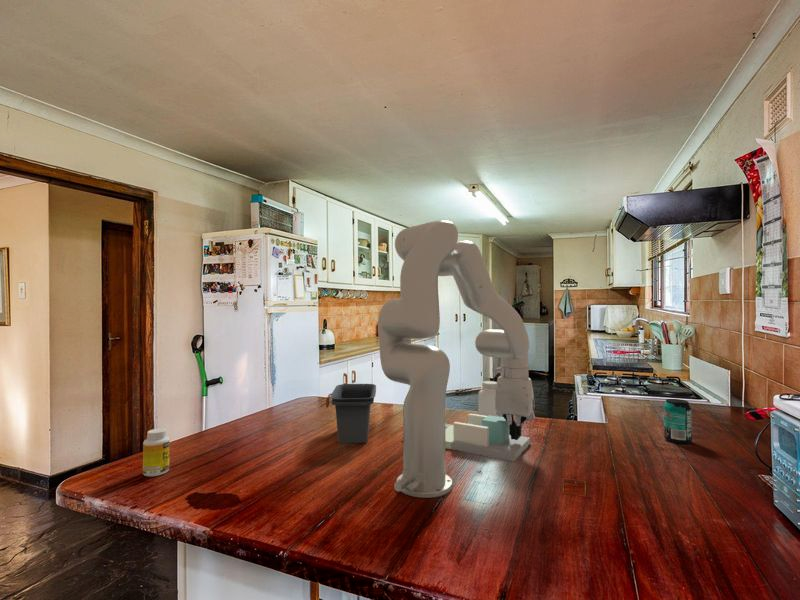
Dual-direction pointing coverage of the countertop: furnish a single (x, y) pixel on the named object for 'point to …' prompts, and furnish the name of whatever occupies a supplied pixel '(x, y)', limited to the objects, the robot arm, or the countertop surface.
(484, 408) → the pill bottle
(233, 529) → the countertop surface
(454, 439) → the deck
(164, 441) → the supplement bottle
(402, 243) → the robot arm
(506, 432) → the teal block
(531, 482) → the countertop surface
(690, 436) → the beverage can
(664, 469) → the countertop surface
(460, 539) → the countertop surface
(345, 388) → the storage bin
